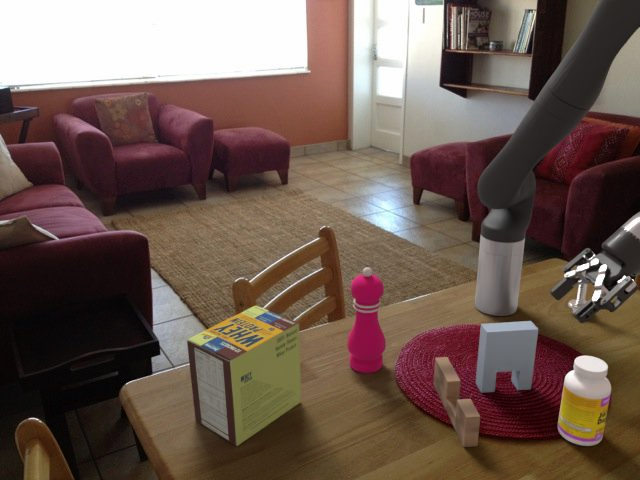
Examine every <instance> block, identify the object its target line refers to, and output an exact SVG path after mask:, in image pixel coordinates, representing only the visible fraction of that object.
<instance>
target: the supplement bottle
mask: <svg viewBox="0 0 640 480" xmlns="http://www.w3.org/2000/svg"><path fill="white" fill-rule="evenodd" d="M608 370H609V365H608V364H607V363H606V362H605V360H603V359H600V357H599V358H598V357H595V356H592V355H580V356H577V357H576V358H575V359H574V362H573V370H570V371H568V372H567V374H566V375H565V377H564V381H563V388H562V393H561V401H560V406H559V407H560V408H559V414H558V421H557V430H558V433H559V435H560V436H561V437H562V438H564V439H565V440H566V441H567V442H569V443H572V444H575V445H578V446H582V447H583V446H585V447H592V446H596V445H598V444H599V443H600V442H601V441H602V440H603V437H604V431H605V426H606V420H607V416H608V412H609V404H610V399H611V395H612V384H611V382H610V380H609V378H607V375H608Z"/></svg>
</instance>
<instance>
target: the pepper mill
mask: <svg viewBox="0 0 640 480" xmlns="http://www.w3.org/2000/svg"><path fill="white" fill-rule="evenodd" d="M384 286H385V285H384V283H383V281H382V279H381V278H380V277H379V276H377V275H375V274H373V270H372V268H370V267H364V268H363V270H362V274H359V275H357V276H356V277H355V278H354V279H352V282H351V283H350V294H351V296H352V297H353V298H354V299H353V301H352V303H353V306H352V307H353V309H354V310H355V320H354V324H353V327H352V329H351V330H350V331H349V334H348V337H347V340H346V341H347V342H346V346H347V350H348V352H349V353H350V354H349V366H350V368H351V369H353V370H354V371H355V372H358V373H363V374H372V373H375V372H377V371H380V370H381V368H382V367H383V365H384V364H383V362H384V360H383V353H384V352H385V350H386V347H387V345H386V338H385V335H384V332H383V330H382V328H381V326H380V323H379V311H380V309H381V303H382V301H381V298H382V297H383V295H384V292H385V290H384V289H385V288H384Z"/></svg>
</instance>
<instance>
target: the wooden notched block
mask: <svg viewBox="0 0 640 480" xmlns="http://www.w3.org/2000/svg"><path fill="white" fill-rule="evenodd" d="M433 372H434V373H433V386H434V388H435V390H436V393H437V395H438V396H439V398H440V401H441V403H442V405H443V407H444V409H445V411H447V412H446V413H447V415H448V418H449V419H450V422H451V424H452V426H453V428H454V430H455V433H456V435H457V436H458V439H459V441H460V442H461V445H462V447H463V448H471V447H478V444H479V433H480V423H481V415H480V413H479V412H478V409H477V408H476V406H475V404H474V403H473V400H472V399H471V398H462V399H461V398H460V394H461V393H460V392H461V379H460V377H459V376H458V374H457V372H456V370H455V368H454V366H453V365H452V362H451V361H450V359H449V357H448V356H440V357H434V371H433Z"/></svg>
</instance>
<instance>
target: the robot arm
mask: <svg viewBox="0 0 640 480" xmlns="http://www.w3.org/2000/svg"><path fill="white" fill-rule="evenodd" d="M638 29H640V0H599V1H598V2H597V4H596V6H595V8H594V10H593V12H592V14H591V15H590V17H589V19H588V20H587V23H586V25H585V26H584V28H583V29H582V31H581V33H580V34H579V36H578V38H577V39H576V40H575V41H574V43H573V45H572V46H571V47H570V49H569V50H568V51H567V53H566V54H565V56H564V57H563V59H562V60H561V61H560V63H559V64H558V66H557V67H556V69H555V70H554V72H553V73H552V75H551V76H550V77H549V79H548V80H547V82H546V83H545V84H544V86H543V87H542V89H541V90H540V92H539V94H538V95H537V97H536V98H535V99H534V101H533V103H532V104H531V106H530V108H529V109H528V111H527V112H526V114H525V116H523V118H522V119H521V121H520V123H518V126H517V127H516V129H515V131H514V132H513V134H512V135H511V136H510V138H509V139H508V141H507V142H506V143H505V145H504V146H503V148H502V149H501V150H500V151H499V152H498V154H496V156H495V157H494V158H493V159H492V160H491V161H490V163H489V164H488V166H486V168H485V169H484V170H483V172H482V173H481V175H480V176H479V179H478V182H477V187H476V188H477V195H478V199H479V200H480V202H481V203H482V204H483V205H484V206H485V207H486V208H489V209H491V210H490V211H489V213H488V214H487V215H486V216H485V218H484V219H483V220H482V222H481V228H480V236H479V237H480V238H479V249H478V250H479V251H478V252H479V253H478V261H477V263H478V264H477V276H476V287H475V296H474V297H475V299H474V307H475V308H476V309H477V311H479V312H481V313H483V314H485V315H489V316H497V317H505V316H506V317H508V316H510V315H513V314H515V313H517V310H518V303H519V302H518V301H519V297H520V296H519V294H520V286H521V277H522V268H523V259H524V252H525V251H524V249H525V241H526V232H527V230H528V228H529V226H530V223H531V220H532V215H533V210H534V209H533V208H534V204H535V196H536V189H537V188H536V187H537V182H536V180H537V179H536V176H535V173H534V171H533V170H534V168H535V167H536V166H537V164H538V163H539V162H541V160H542V159H543V158H544V157H545V156H546V155H548V154H549V153H550V152H551V151H552V150H554V149H555V148H556V147H557V146H558V145H560V143H562V142H563V141H565V139H566V138H568V137H569V135H571V133H573V131H575V129H576V128H577V127H578V126H579V125H580V123H581V122H582V121H583V119H584V118H585V117H586V116H587V114H588V113H589V111H591V108H593V106H594V104H595V103H596V102H597V100H598V98H599V96H600V94H601V92H602V91H603V87H604V85H605V82H606V80H607V77H608V74H609V71H610V68H611V66H612V64H613V62H614V60H615V59H616V57H617V55H618V54H619V53H620V52H621V50H622V49H623V47H624V46H625V45H626V44H627V43H628V41H629V40H630V39H631V37H632V36H633V35H634V34H635V33H636V32H637V30H638ZM601 248H602V250H601V251H600V252H599V253H597V254H596V253H594V252H593V250H592V249H591V248H589V247H586V248H584V249H583V250H582V251H581V252H579V253H578V254H577V255H576V256H575V257H574V258H573V259H571V260H570V261H569V262H568V263H567V264H565V265H564V266H563V267H562V269H561V270H562V272H563V273H564V275H563V279H562V280H560V281H559V282H558V283H557V284H555V286H553V287H552V289H551V290H550V291H549V293H550V295H551V296H552V297H553V298H554V299H555V300H556V301H560V300H561V299H562V298H564V297H565V296H566V295H568V293H569V292H570V291H572V290H573V289H574V287H575V286H579V285H578V284H581V283H585V284H591V285H593V286H594V293H593V295H592V298H591V299H588V300H586V301H587V302H586V303H585V304H584V305H583V306H581V307H580V308H579V309H578V310H577V311H576V312H575V313H574V314H573V313H572V314H573V318H575V319H576V320H577V322H579V323H580V324H584V323H585V322H588V321H590V320H591V318H592V317H594V316H595V315H596V314H597V313H598V312H600V311H605V310H606V311H609V313H614V312H615V311H617V309H619V307H621V306H622V305H623V304H624V303H625V302H626V301H627V300H628V299H629V298H630V297H631V296H632V295H634V294H635V293H636V292H637V291H638V290H639V289H640V287H639V285H638V284H637V283H636V281H635V280H634V279H632V278H631V276H632V277H638V276H639V275H640V211H639V212H637V213H636V214H634V215H632V217H631V218H629V219H628V220H627V221H626V222H625V223H624V224H623V225H622V226H620V227H619V228H618V229H617V230H616V231H615V232H613V233H612V235H611V234H610V236H609V237H608V238H607V239H606V240H604V241H603V242H602V244H601ZM574 267H575V269H574V270H573V268H574ZM584 271H586V273H585V272H584ZM615 298H616V299H615ZM612 301H613V302H612Z"/></svg>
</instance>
